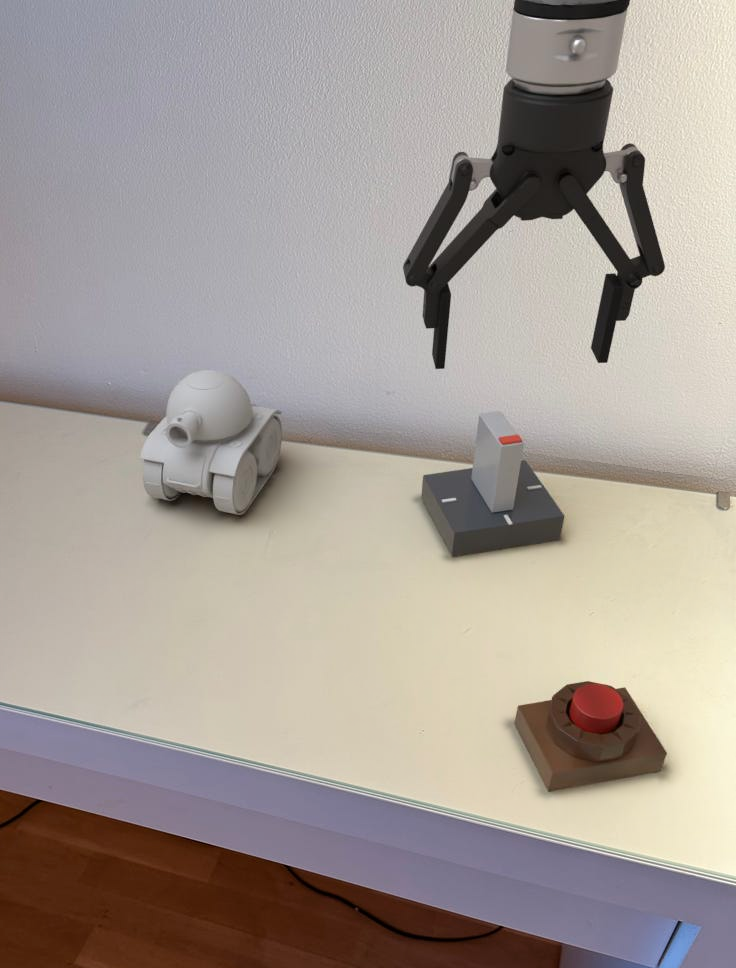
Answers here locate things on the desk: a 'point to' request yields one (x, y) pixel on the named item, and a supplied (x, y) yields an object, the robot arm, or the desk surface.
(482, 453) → the grey rectangular block
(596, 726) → the button
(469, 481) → the plate
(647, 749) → the button block
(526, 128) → the robot arm
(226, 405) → the toy tank
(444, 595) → the desk surface
